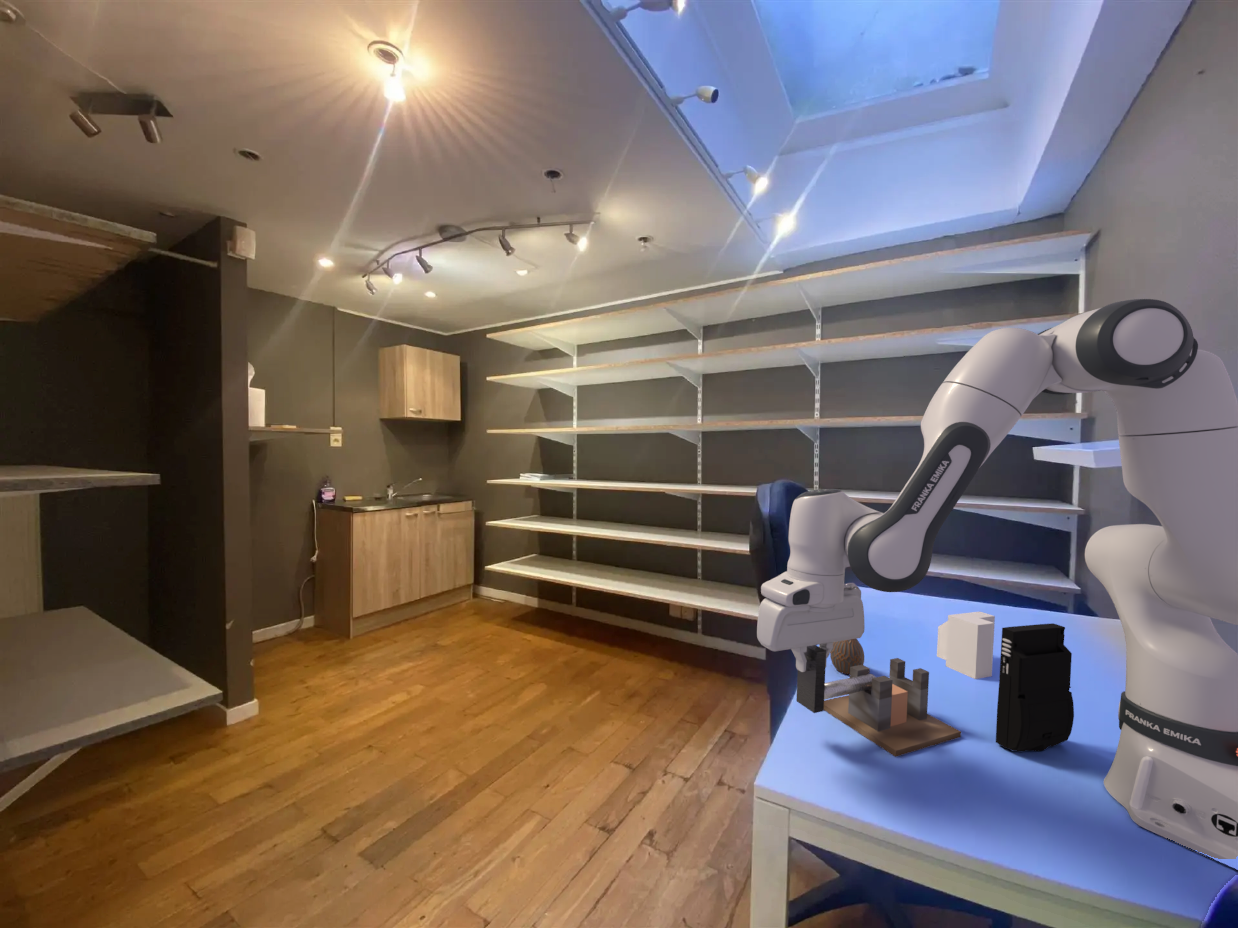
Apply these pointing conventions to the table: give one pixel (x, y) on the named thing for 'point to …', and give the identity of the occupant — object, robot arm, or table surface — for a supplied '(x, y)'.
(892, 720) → the block
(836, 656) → the vase
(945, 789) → the table surface
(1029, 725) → the handheld gaming console
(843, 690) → the shaft
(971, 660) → the corner bracket
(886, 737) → the shaft stand
